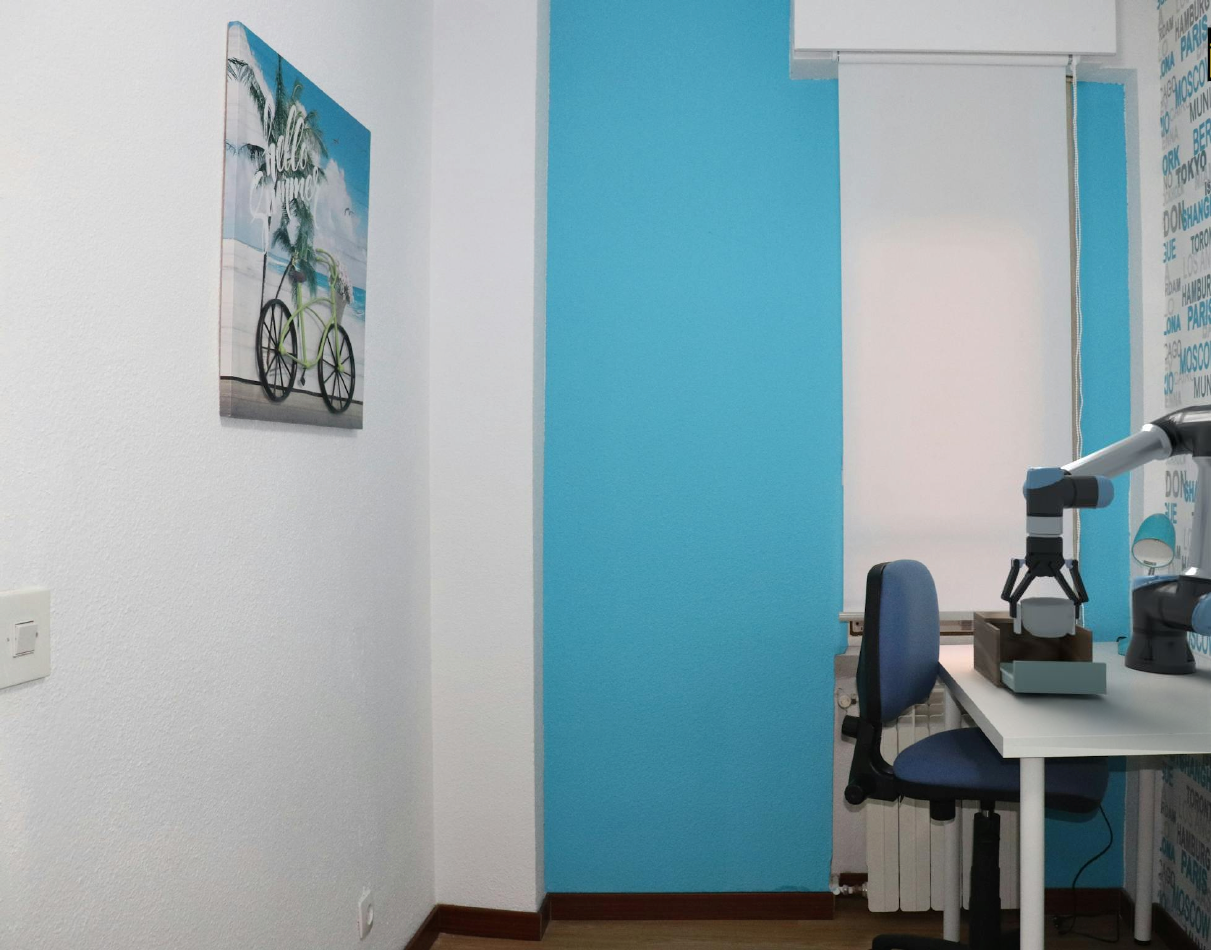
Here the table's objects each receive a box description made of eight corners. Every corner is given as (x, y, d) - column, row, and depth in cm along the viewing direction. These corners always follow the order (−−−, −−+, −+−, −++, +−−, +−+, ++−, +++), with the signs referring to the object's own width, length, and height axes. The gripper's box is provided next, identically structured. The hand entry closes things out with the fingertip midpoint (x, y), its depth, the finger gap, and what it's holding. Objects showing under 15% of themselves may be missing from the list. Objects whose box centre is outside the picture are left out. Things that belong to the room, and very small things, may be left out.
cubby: (1061, 669, 228) (1061, 612, 228) (1092, 689, 208) (1092, 626, 208) (973, 667, 231) (973, 611, 231) (996, 686, 211) (996, 625, 211)
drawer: (1072, 673, 218) (1072, 645, 218) (1106, 694, 198) (1106, 663, 198) (989, 672, 220) (989, 644, 220) (1014, 692, 201) (1014, 661, 201)
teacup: (1080, 640, 201) (1080, 603, 201) (1026, 639, 203) (1026, 602, 203) (1061, 629, 215) (1061, 595, 215) (1011, 628, 217) (1011, 593, 217)
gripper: (1092, 534, 211) (1092, 631, 211) (985, 533, 214) (985, 629, 214) (1105, 537, 204) (1105, 637, 204) (995, 536, 207) (994, 635, 207)
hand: (1044, 633), depth 209 cm, fingers closed on teacup, 11 cm apart
